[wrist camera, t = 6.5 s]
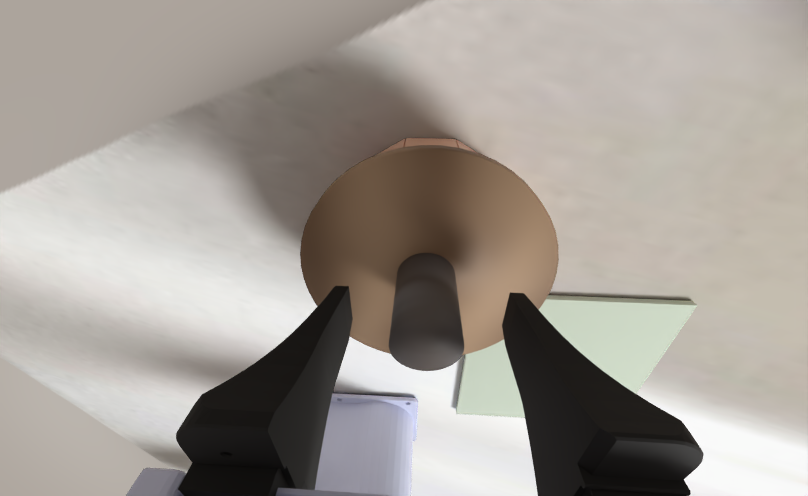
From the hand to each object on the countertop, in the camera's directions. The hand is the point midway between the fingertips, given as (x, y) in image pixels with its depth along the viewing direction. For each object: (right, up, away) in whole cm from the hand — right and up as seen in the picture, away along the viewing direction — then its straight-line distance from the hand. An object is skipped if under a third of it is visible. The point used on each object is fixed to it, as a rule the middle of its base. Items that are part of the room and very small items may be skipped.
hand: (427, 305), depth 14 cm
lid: (0, +2, +3) cm, 3 cm away
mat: (+12, -8, +14) cm, 20 cm away
